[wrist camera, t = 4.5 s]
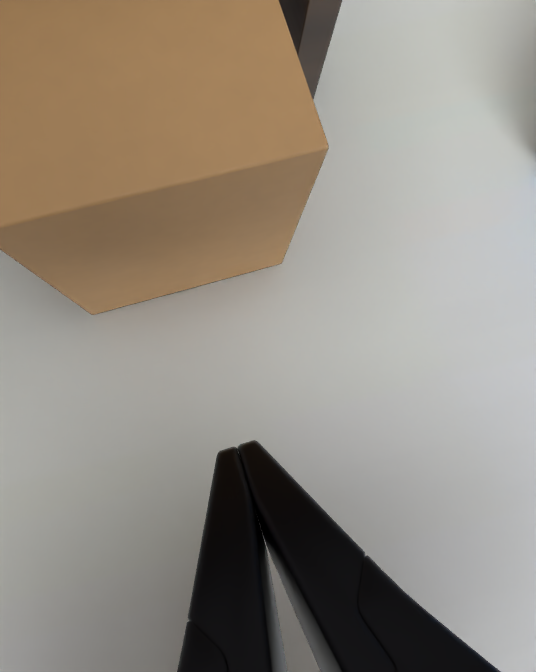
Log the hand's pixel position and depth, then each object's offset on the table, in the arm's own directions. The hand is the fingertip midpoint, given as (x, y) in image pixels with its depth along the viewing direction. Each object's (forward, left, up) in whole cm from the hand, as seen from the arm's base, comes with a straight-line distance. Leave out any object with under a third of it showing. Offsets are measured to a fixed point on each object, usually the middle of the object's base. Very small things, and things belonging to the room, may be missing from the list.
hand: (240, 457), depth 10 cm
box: (+8, +7, -9) cm, 14 cm away
